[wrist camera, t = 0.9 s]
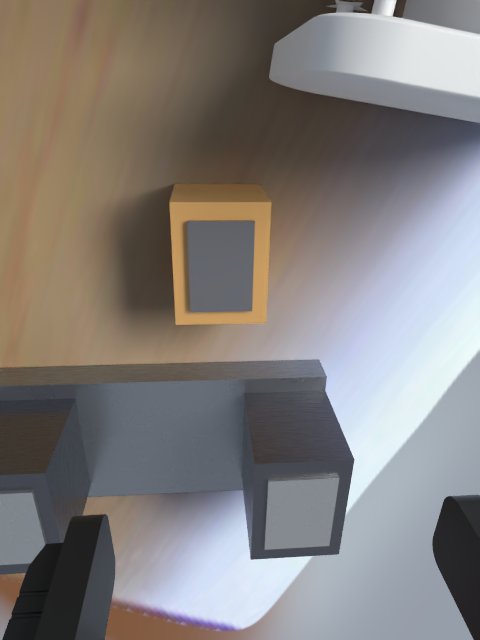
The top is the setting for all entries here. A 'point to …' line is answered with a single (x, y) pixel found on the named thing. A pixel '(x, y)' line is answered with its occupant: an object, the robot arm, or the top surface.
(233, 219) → the orange module
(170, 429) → the rail plate
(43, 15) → the top surface
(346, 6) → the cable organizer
